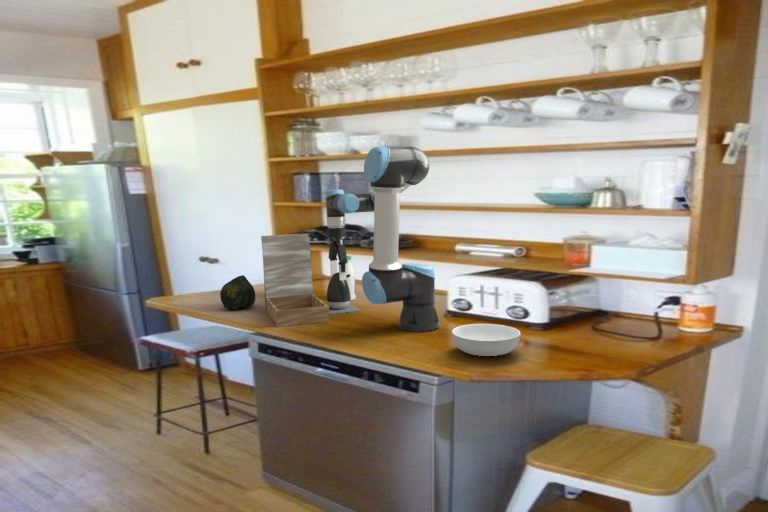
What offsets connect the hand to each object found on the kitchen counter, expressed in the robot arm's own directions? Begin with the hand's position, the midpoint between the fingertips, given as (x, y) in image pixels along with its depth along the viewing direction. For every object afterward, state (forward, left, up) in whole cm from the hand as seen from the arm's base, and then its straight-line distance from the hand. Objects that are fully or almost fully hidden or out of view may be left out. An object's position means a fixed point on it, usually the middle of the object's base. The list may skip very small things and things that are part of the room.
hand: (338, 278), depth 234 cm
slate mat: (0, 0, -14) cm, 14 cm away
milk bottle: (+18, -9, -14) cm, 25 cm away
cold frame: (-2, +19, -14) cm, 23 cm away
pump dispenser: (0, 0, -13) cm, 13 cm away
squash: (+22, +39, -14) cm, 47 cm away
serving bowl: (-77, -25, -14) cm, 82 cm away
